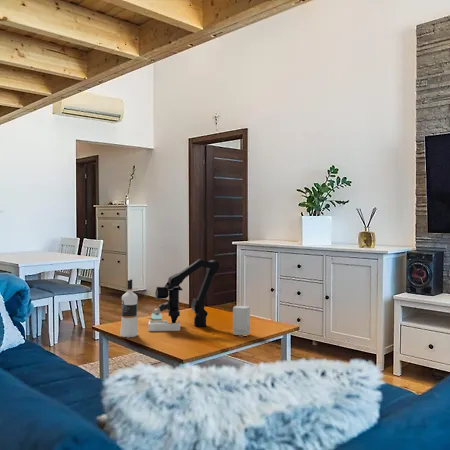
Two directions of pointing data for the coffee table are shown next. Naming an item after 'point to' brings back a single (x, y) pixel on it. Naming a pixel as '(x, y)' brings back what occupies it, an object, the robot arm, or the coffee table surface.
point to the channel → (163, 326)
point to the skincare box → (241, 320)
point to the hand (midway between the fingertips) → (173, 325)
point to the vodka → (129, 313)
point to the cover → (156, 315)
